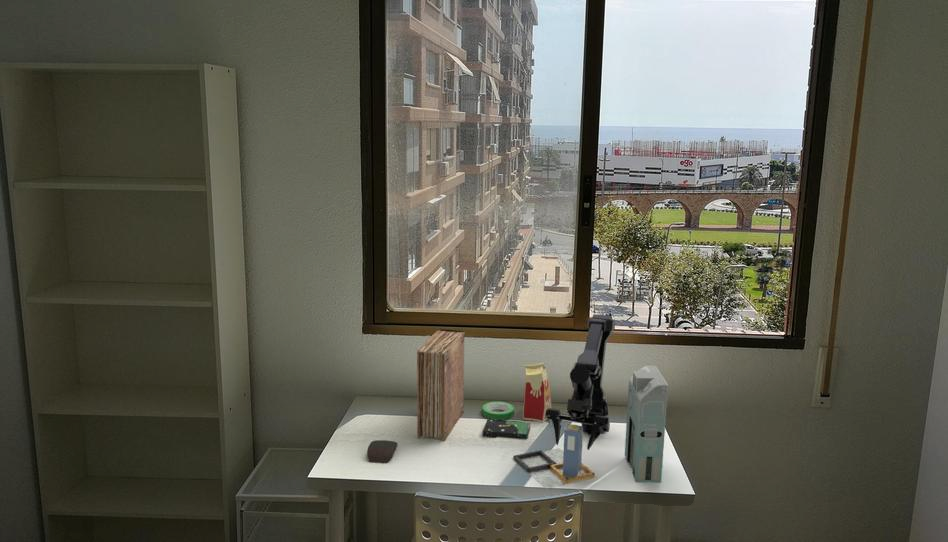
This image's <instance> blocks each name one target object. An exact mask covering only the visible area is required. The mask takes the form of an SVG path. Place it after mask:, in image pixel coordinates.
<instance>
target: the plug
mask: <svg viewBox="0 0 948 542" xmlns="http://www.w3.org/2000/svg"><path fill="white" fill-rule="evenodd" d="M563 433H564V435H563V437H564V438H563V451H564V455H563V474H564V475H569V476H577V475H579V473H580V471H581V463H582V456H583V455H582V454H583V437H584V436H583V435H584V431H583V426H582V425H579V424H578V425H577V424H571V423H570V424H567V425H566V426H565V428H564V432H563Z"/></svg>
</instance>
